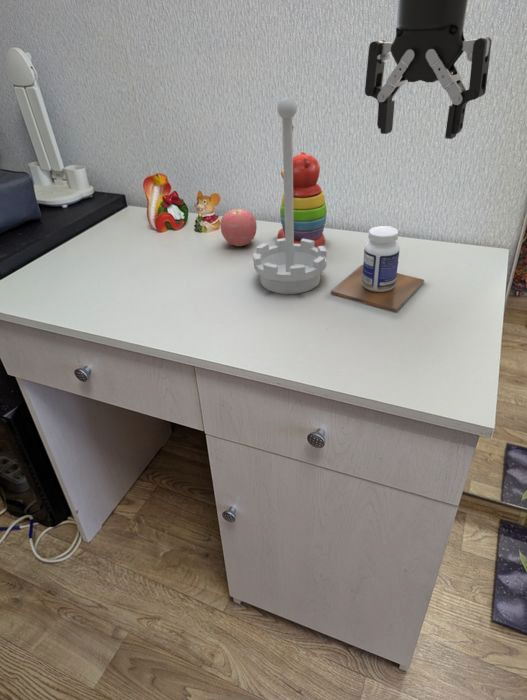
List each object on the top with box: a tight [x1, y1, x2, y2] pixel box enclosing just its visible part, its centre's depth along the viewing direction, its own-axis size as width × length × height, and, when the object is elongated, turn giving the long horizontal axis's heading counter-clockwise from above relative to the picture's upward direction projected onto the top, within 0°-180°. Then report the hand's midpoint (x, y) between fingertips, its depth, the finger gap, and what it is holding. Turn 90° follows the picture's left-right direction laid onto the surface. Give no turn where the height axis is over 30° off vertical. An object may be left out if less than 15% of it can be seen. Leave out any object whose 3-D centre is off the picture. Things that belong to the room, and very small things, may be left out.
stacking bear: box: [277, 151, 328, 248], centre depth 98 cm, size 11×10×18 cm
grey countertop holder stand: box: [252, 97, 328, 295], centre depth 82 cm, size 13×13×30 cm
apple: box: [219, 208, 258, 247], centre depth 102 cm, size 7×7×8 cm
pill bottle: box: [362, 225, 400, 292], centre depth 83 cm, size 6×6×10 cm
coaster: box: [330, 264, 425, 313], centre depth 86 cm, size 12×12×1 cm
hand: (417, 135), depth 63 cm, fingers open, 8 cm apart
